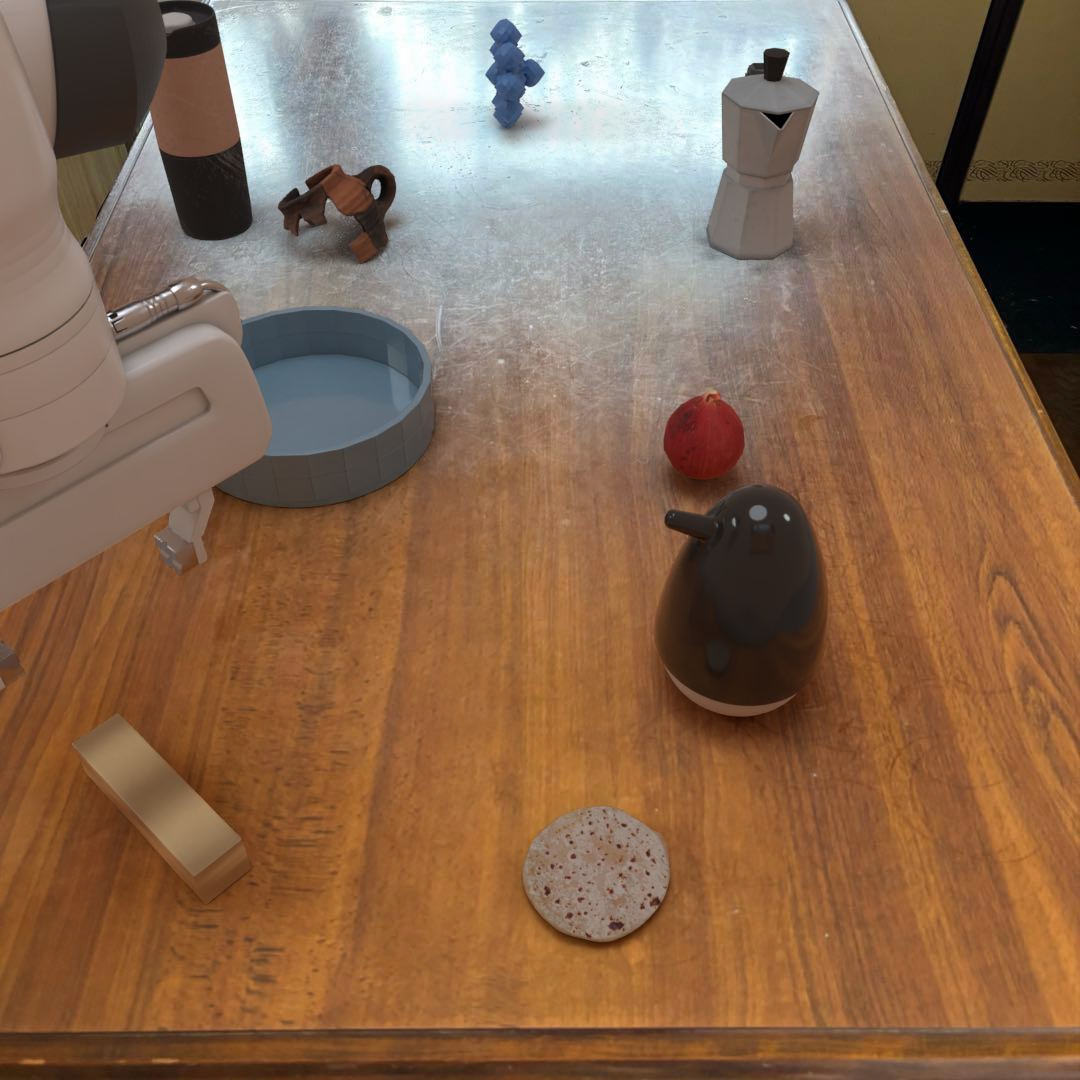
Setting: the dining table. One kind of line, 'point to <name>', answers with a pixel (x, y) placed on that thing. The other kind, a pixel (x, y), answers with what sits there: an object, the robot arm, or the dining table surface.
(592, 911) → the flatbread
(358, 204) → the brown wooden curved piece
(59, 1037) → the dining table surface
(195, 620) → the dining table surface
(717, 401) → the onion
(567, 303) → the dining table surface
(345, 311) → the bowl
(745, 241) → the coffee maker
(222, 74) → the travel mug
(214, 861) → the gold bar
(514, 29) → the grapes
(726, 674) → the pump dispenser
